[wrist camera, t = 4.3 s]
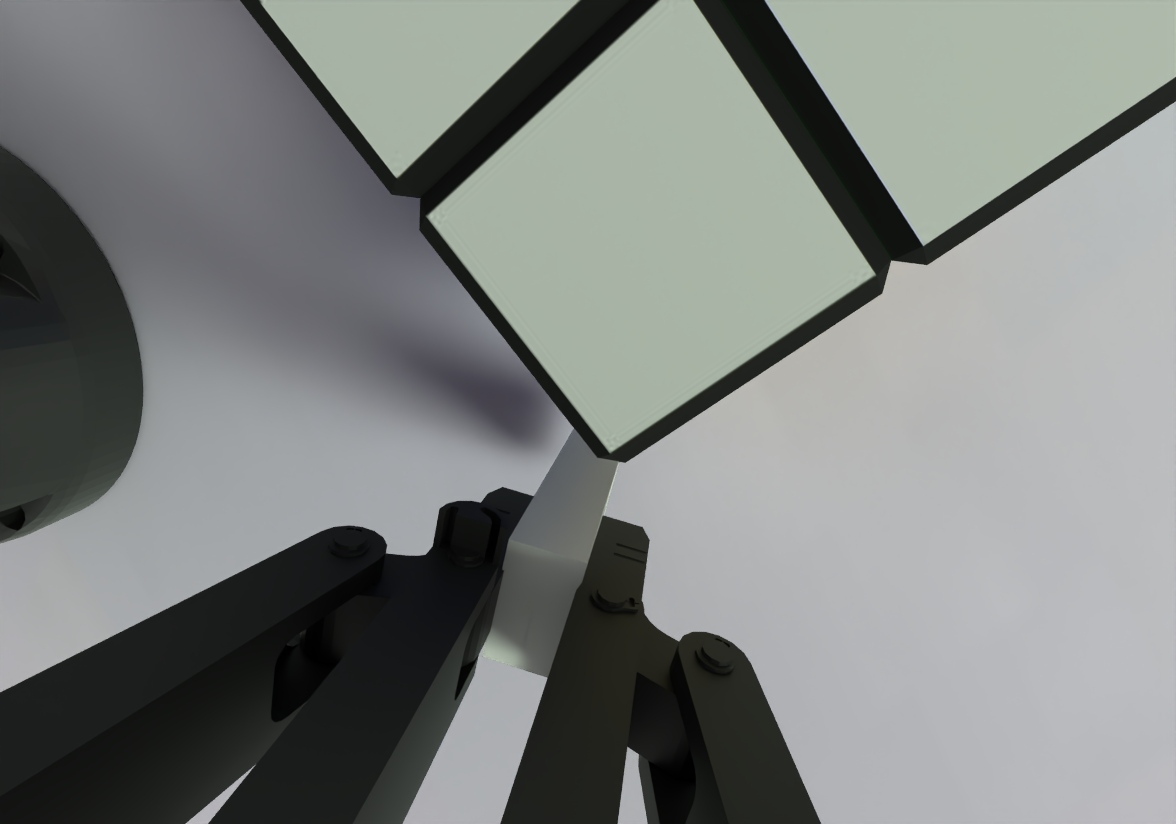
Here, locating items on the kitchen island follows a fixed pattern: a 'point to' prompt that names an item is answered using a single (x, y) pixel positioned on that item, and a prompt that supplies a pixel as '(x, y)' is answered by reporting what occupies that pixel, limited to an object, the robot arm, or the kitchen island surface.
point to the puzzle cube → (710, 160)
